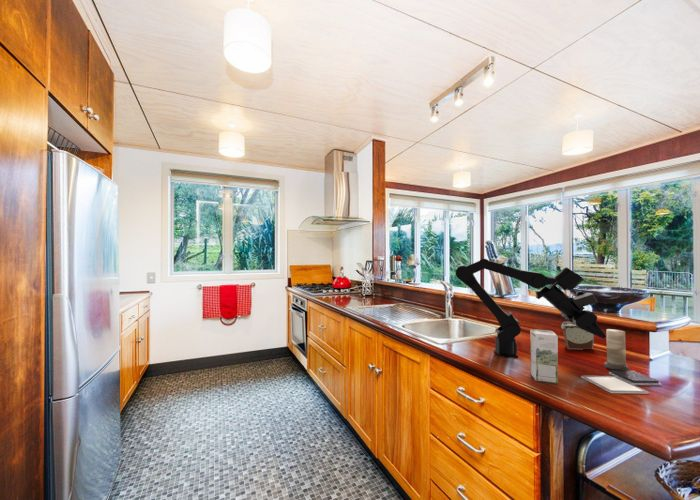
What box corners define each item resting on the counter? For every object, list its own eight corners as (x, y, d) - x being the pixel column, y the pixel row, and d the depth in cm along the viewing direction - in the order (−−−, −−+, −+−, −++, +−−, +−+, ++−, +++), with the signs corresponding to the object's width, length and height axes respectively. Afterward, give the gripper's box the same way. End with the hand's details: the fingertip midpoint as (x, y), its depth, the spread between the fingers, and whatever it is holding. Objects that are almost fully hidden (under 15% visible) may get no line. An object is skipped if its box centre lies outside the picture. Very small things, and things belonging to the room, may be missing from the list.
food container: (585, 345, 120) (585, 321, 120) (596, 349, 114) (596, 325, 114) (554, 344, 121) (554, 320, 121) (564, 348, 115) (563, 324, 115)
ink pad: (633, 385, 82) (633, 381, 82) (608, 373, 90) (608, 370, 90) (661, 385, 82) (661, 381, 82) (634, 374, 90) (634, 370, 90)
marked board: (611, 393, 77) (611, 391, 77) (581, 377, 87) (581, 375, 87) (649, 393, 77) (648, 391, 77) (614, 377, 87) (614, 376, 87)
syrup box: (551, 376, 88) (550, 329, 88) (558, 384, 82) (557, 334, 83) (530, 374, 90) (529, 328, 90) (535, 381, 84) (535, 332, 84)
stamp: (615, 372, 91) (614, 333, 92) (599, 365, 97) (598, 328, 98) (634, 372, 91) (633, 333, 92) (617, 365, 97) (616, 328, 98)
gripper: (588, 287, 91) (634, 324, 86) (570, 282, 108) (608, 313, 103) (559, 309, 94) (602, 347, 89) (546, 301, 111) (582, 333, 106)
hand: (599, 334), depth 96 cm, fingers open, 9 cm apart
